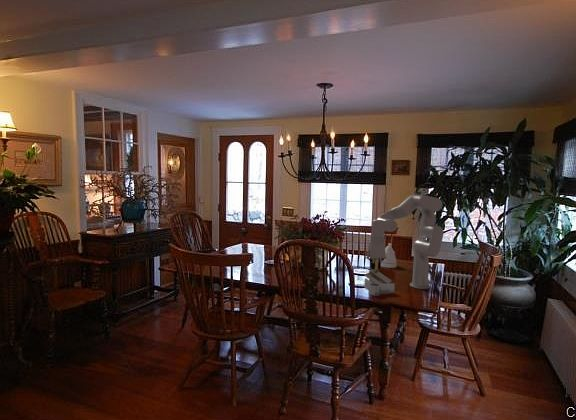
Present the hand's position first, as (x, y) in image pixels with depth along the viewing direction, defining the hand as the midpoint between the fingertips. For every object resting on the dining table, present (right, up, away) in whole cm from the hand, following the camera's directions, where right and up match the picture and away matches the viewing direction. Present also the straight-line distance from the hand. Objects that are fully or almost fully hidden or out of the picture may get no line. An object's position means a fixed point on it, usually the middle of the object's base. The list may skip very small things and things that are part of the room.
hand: (375, 268), depth 228 cm
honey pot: (+28, -10, +74) cm, 79 cm away
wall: (+7, -15, +21) cm, 26 cm away
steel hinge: (+3, -15, +8) cm, 18 cm away
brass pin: (0, -2, 0) cm, 2 cm away
